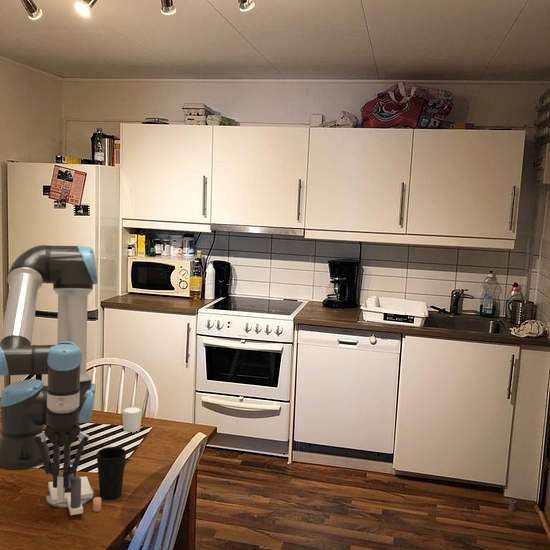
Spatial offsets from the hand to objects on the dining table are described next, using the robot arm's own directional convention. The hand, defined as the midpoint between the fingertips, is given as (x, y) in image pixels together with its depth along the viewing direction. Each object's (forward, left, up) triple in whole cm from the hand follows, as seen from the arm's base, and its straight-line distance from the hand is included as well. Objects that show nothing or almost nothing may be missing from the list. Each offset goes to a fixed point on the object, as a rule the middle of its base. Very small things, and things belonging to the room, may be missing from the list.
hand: (60, 499), depth 150 cm
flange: (-2, +7, -3) cm, 8 cm away
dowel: (+6, +6, -5) cm, 10 cm away
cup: (+5, +14, -5) cm, 16 cm away
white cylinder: (-12, +56, -5) cm, 58 cm away
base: (-4, +9, -5) cm, 11 cm away
